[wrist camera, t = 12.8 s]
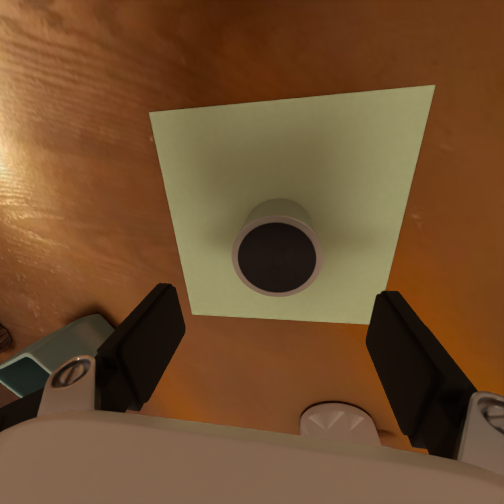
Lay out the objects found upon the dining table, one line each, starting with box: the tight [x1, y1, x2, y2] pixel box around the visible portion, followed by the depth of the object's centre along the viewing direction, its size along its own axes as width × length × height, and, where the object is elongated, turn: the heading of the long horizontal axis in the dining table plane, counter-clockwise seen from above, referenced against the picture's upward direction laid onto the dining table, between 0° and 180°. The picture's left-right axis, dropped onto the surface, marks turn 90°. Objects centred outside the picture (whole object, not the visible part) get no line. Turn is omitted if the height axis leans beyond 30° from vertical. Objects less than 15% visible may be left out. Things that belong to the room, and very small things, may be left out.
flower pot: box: [0, 314, 115, 398], centre depth 28 cm, size 9×9×9 cm
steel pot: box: [232, 198, 323, 297], centre depth 19 cm, size 7×7×6 cm
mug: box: [300, 403, 394, 449], centre depth 28 cm, size 14×11×10 cm
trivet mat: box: [149, 85, 435, 324], centre depth 21 cm, size 22×22×1 cm
